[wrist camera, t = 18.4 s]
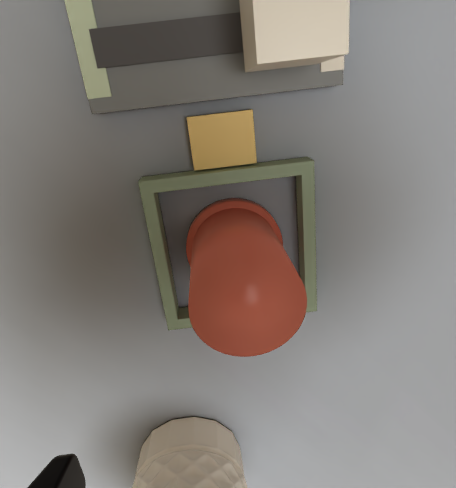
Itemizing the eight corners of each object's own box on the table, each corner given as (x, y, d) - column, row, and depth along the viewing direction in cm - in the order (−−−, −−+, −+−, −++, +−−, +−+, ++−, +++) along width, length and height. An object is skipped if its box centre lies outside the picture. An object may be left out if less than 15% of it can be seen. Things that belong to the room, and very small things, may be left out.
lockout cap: (282, 197, 18) (321, 243, 12) (277, 283, 20) (308, 359, 14) (184, 198, 18) (176, 246, 12) (188, 286, 20) (183, 365, 14)
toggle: (315, -23, 14) (350, -61, 11) (316, 64, 15) (348, 53, 12) (238, -14, 14) (249, -50, 10) (245, 72, 15) (257, 64, 12)
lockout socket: (305, 102, 17) (313, 103, 16) (310, 299, 21) (316, 310, 20) (131, 123, 17) (126, 125, 16) (170, 318, 21) (168, 330, 20)
